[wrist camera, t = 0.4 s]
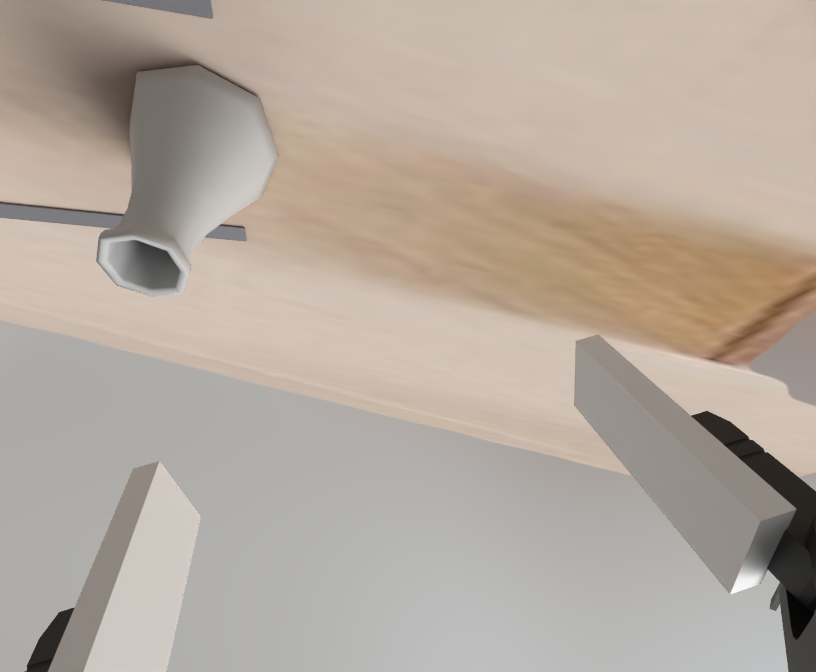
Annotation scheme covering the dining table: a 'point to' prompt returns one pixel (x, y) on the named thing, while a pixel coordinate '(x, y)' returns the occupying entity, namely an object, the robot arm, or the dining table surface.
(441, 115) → the dining table surface
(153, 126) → the flask
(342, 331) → the dining table surface
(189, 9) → the stop bar lane
